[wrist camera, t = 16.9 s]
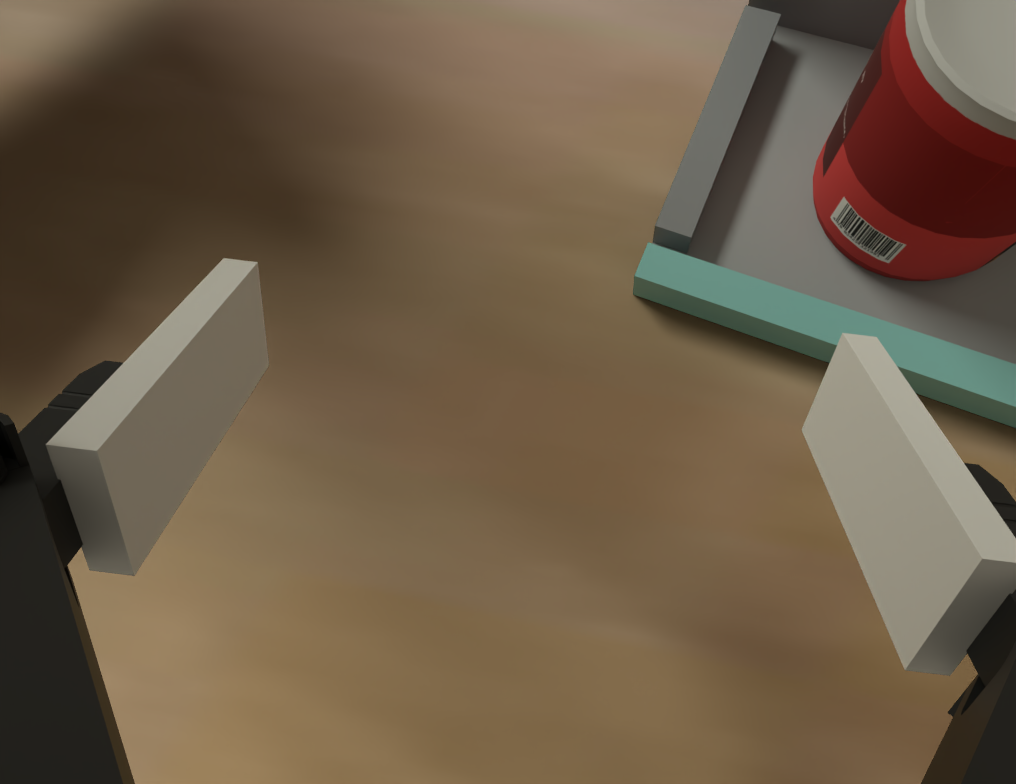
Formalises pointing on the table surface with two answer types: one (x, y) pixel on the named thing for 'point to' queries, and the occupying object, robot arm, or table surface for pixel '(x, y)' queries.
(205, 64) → the table surface
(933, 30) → the canned food
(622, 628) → the table surface
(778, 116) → the tray with upright backboard
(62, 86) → the table surface
